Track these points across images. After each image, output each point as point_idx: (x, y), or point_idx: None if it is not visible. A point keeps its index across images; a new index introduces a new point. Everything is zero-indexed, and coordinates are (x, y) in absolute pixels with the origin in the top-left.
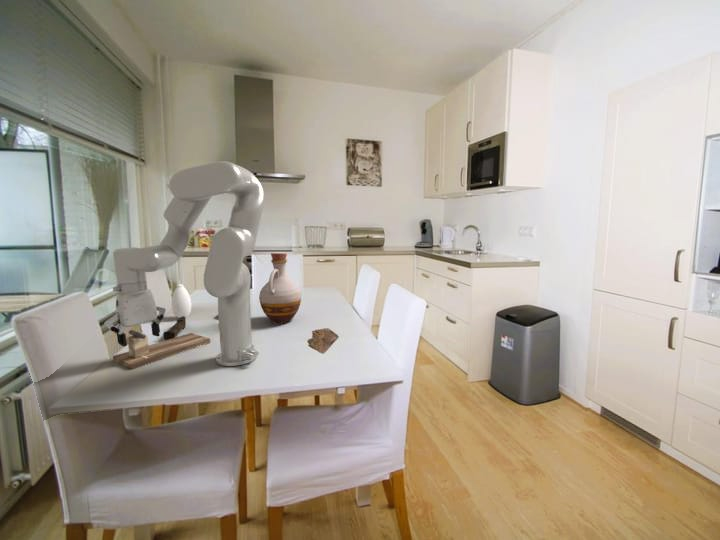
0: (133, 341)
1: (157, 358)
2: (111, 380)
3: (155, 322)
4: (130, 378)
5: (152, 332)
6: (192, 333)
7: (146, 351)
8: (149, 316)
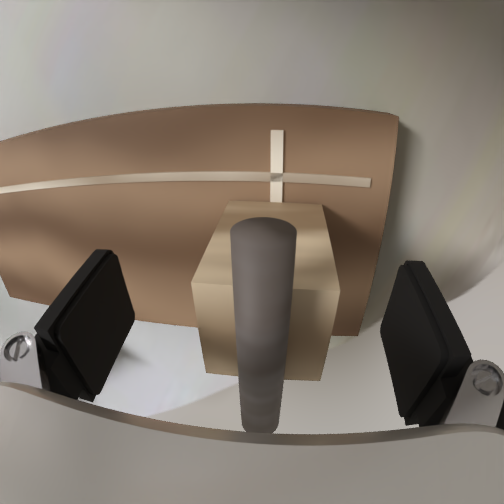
0: (336, 282)
1: (219, 104)
2: (498, 89)
3: (41, 364)
4: (446, 13)
5: (126, 330)
6: (5, 284)
7: (241, 210)
8: (22, 476)
